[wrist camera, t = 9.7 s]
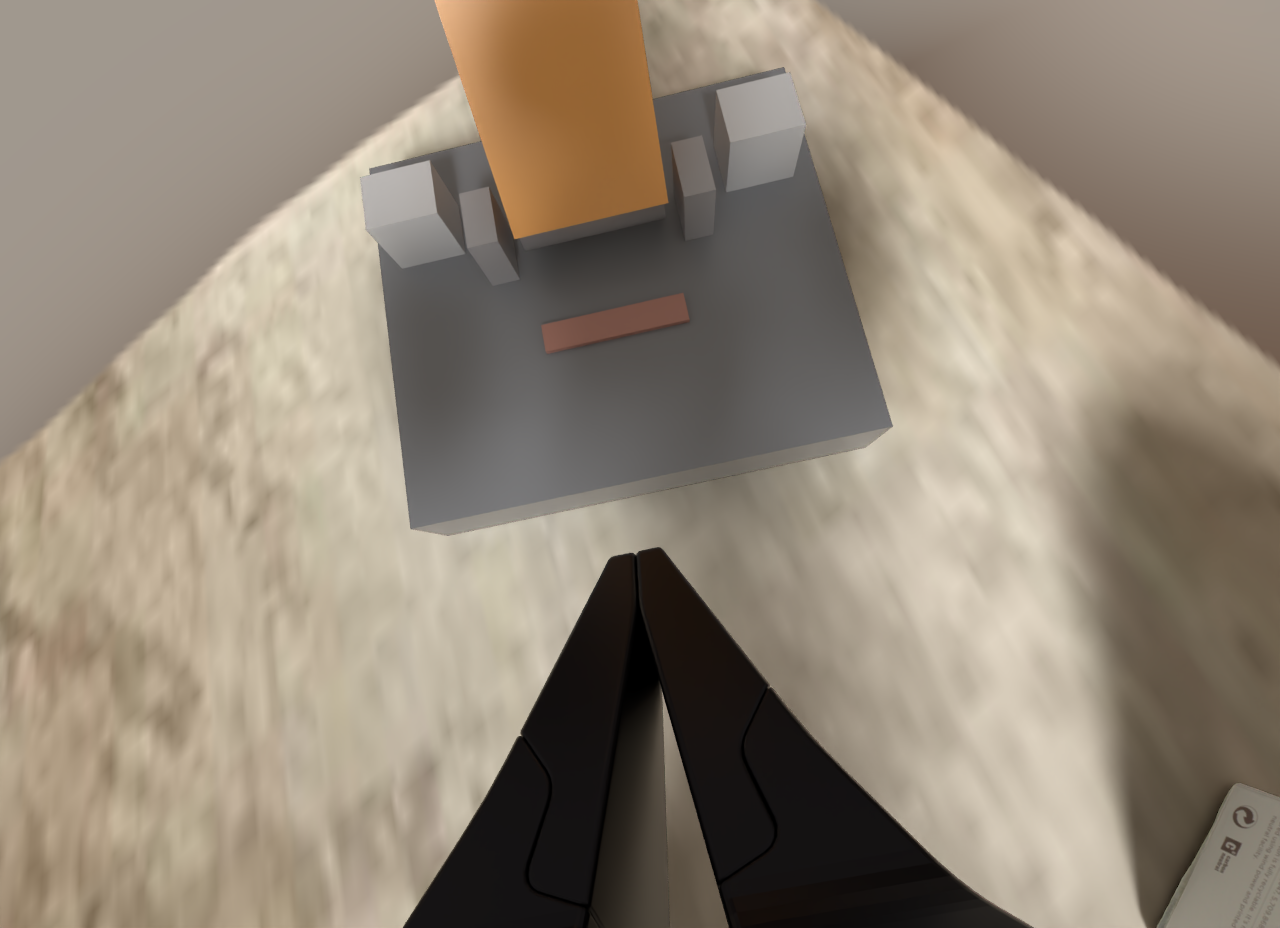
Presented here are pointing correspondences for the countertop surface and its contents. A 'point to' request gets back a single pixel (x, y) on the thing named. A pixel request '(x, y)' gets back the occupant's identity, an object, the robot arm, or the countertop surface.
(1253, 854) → the skincare box
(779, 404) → the box
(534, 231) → the lever
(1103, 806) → the countertop surface
